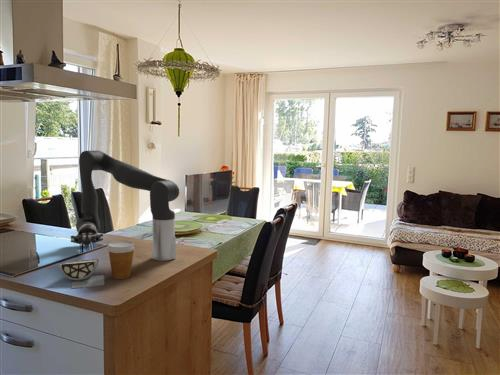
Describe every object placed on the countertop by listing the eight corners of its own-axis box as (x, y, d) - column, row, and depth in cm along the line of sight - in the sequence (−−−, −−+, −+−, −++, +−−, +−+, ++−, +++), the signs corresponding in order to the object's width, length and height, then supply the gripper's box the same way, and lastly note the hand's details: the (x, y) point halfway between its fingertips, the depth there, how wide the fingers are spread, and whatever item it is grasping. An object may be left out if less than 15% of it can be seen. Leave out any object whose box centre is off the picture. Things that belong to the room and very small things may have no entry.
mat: (103, 275, 136) (103, 275, 136) (104, 285, 127) (104, 284, 127) (73, 278, 132) (73, 277, 132) (71, 288, 123) (71, 287, 123)
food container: (68, 278, 137) (58, 283, 127) (67, 261, 137) (58, 264, 127) (103, 275, 139) (97, 279, 129) (102, 258, 139) (96, 261, 130)
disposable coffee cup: (106, 273, 139) (106, 241, 138) (133, 270, 143) (133, 239, 142) (108, 281, 130) (108, 248, 129) (136, 278, 134) (136, 246, 133)
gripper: (70, 225, 160) (67, 234, 144) (103, 224, 165) (104, 232, 149) (70, 242, 160) (68, 253, 144) (103, 240, 165) (104, 251, 149)
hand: (86, 243), depth 147 cm, fingers closed
